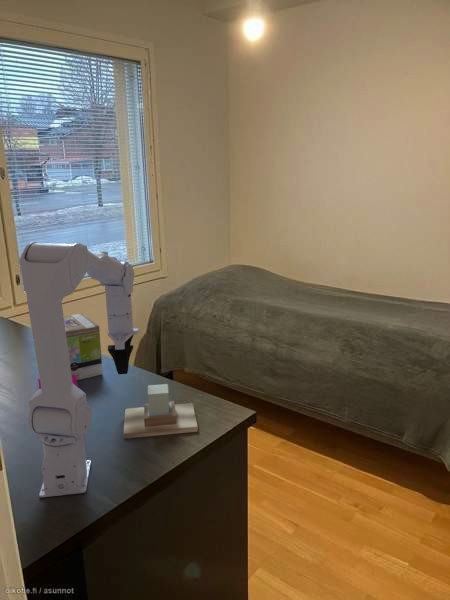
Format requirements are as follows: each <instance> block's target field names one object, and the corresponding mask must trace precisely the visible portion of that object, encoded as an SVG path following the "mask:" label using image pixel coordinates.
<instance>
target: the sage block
mask: <svg viewBox="0 0 450 600" xmlns="http://www.w3.org/2000/svg"><path fill="white" fill-rule="evenodd" d="M169 399H170V395H169V384H168V383H164V384H149V385H147V403H148V406H149V415H153V414H165V413H169V401H170V400H169Z"/></svg>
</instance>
